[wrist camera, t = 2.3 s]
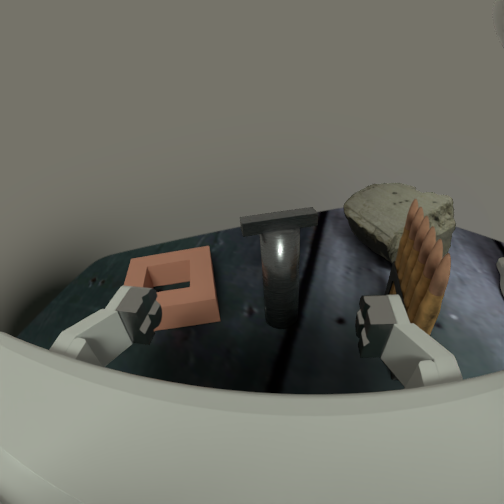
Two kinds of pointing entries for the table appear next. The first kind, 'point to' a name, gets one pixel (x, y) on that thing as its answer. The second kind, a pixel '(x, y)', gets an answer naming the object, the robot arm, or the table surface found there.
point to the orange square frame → (176, 271)
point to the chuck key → (280, 260)
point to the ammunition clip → (419, 271)
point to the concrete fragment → (396, 216)
